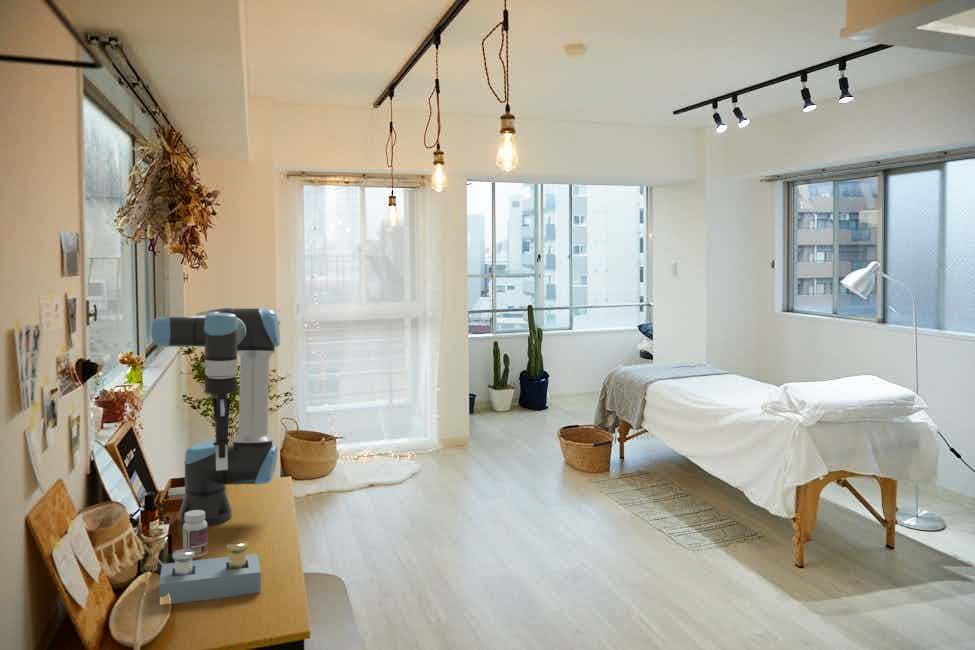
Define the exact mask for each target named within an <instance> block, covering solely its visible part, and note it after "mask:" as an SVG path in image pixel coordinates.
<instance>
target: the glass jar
mask: <svg viewBox="0 0 975 650" xmlns="http://www.w3.org/2000/svg"><path fill="white" fill-rule="evenodd" d="M247 549H249V543H248V541H245V540H233V541H230V542H228V543H227V544H226V550H227V551H228V557H229V570H234V569H242V568H246V555H247V554H246V552H247V551H246V550H247Z"/></svg>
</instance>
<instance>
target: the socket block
mask: <svg viewBox="0 0 975 650" xmlns="http://www.w3.org/2000/svg"><path fill="white" fill-rule="evenodd" d="M261 572H262V571H261V567H260V561H259V556H258V553H251V554H246V568H242V569H234V570H229V556H224V557H216V558H215V557H214V558H205V559H197V560H192V574H191V575H182V576H175V562H169V563H161V568H160V576H159V582H158V592H159V593H158V595H159V596H158V598H159V597H164V596H166V595H167V594H168V593H169V595H170V598H171V602H172V604H171V605H175V604H181V603H190V602H198V601H204V600H205V601H206V600H212V599H213V600H214V599H221V598H229V597H230V598H231V597H236V596H237V597H238V596H245V595H252V594H258V593H259V594H260V593H261V588H262V587H261V585H262V584H261V582H262V574H261Z"/></svg>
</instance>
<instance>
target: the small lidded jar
mask: <svg viewBox="0 0 975 650" xmlns="http://www.w3.org/2000/svg"><path fill="white" fill-rule="evenodd" d="M194 556H195V551H194V550H192V549H183V548H181V549H177V550H175V551H173V552H172V561H174V563H175V576H182V575H191V574H192V561H193V559H194V558H193V557H194Z"/></svg>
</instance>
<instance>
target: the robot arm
mask: <svg viewBox="0 0 975 650" xmlns="http://www.w3.org/2000/svg"><path fill="white" fill-rule="evenodd" d="M151 339H152V343H153V344H154V345H155V346H157V347H167V348H168V347H203V348H204V362H203V363H202V364H201V367H202V368H205V369H204V375H206V377H205V378H204V392H205V393H207V394H209V395H210V394H211V395H214V394H215V398H212V406H213V417H214V418H215V435H214V436H215V440H208V441H203V442H199V443H196V444H192V445H190V446H189V447H188V448H187V449H186V450H185V454H184V462H183V463H184V490H185V491H184V497H183V500H182V503H181V506H180V509H179V512H178V522H179V523H180V524H182V525H183V524H184V523H185V522H186V521H185V520H184V518H185V513H186V512H188V511H192V510H203V511H205V519H204V520H205V521H206V522H207V526H213V525H217V524H218V525H219V524H222V523H223V522H224V523H225V522H226V521H228V520H230V519H231V518H232V516H233V515H232V514H233V511H232V509H233V508H232V505H231V503H230V500H229V498H228V495H227V490H226V489H227V488H226V487H227V485H228V486H232V485H236V486H237V485H254V486H257V485H263V484H269V483H270V482H271V481H272V480H273V478H274V474H275V470H276V466H277V460H278V446H277V445H275V444H273V439H272V438H271V436H269V434H268V433H269V432H268V428H269V426H268V422H269V389H270V388H269V384H270V383H269V382H270V380H269V379H270V358H271V357H272V355H274V353H275V352H276V351H275V349H276V348H277V347H279V346H280V344H281V333H280V325H279V319H278V316H277V313H276V312H275V311H274V310H272V309H267V308H261V307H259V308H229V307H226V308H224V307H223V308H216V309H211V310H206V311H201V312H198V313H196V314H195V315H187V316H157V317H155V318H154V320H153V321H152V325H151ZM275 347H276V348H275ZM238 356H239V358H240V362H239V363H240V365H239V366H240V368H239V401H238V402H239V403H238V404H239V405H238V435H237V436H236V437H235V438H234V439H233V441H232V445H231V446H229V445H228V444H229V442H231V441H230V438H229V437H228V436H229V433H228V432H229V417H230V408H231V399H230V397H227V396H228V394H233V393H236V392H237V390H238V377H237V375H238Z"/></svg>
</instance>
